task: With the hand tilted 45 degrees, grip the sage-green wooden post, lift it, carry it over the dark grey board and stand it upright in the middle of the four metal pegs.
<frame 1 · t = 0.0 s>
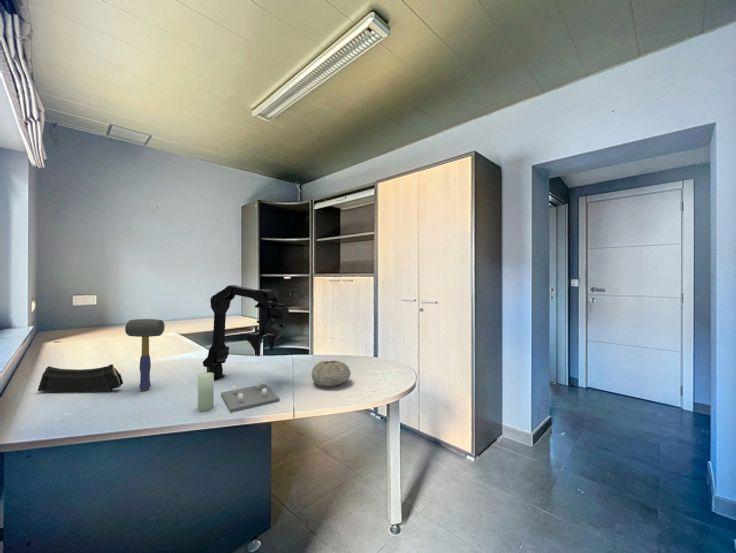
hand: (265, 353, 137), 15 cm above the table, tool pointing down, fingers open, 9 cm apart
rubber mallet: (145, 390, 130), on the table
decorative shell: (330, 383, 142), on the table
magazine: (81, 392, 127), on the table
post: (205, 408, 115), on the table
peg board: (249, 398, 124), on the table
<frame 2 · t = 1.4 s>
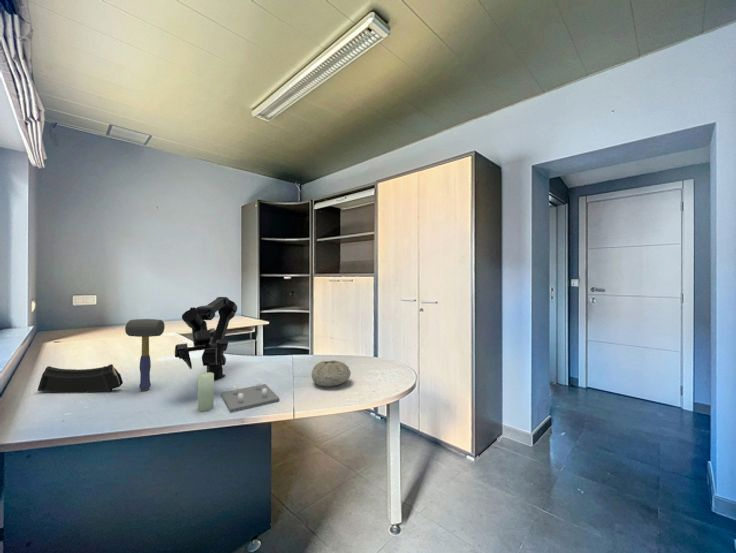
hand: (204, 366, 121), 13 cm above the table, tool tilted 45°, fingers open, 9 cm apart
nothing on the table moved.
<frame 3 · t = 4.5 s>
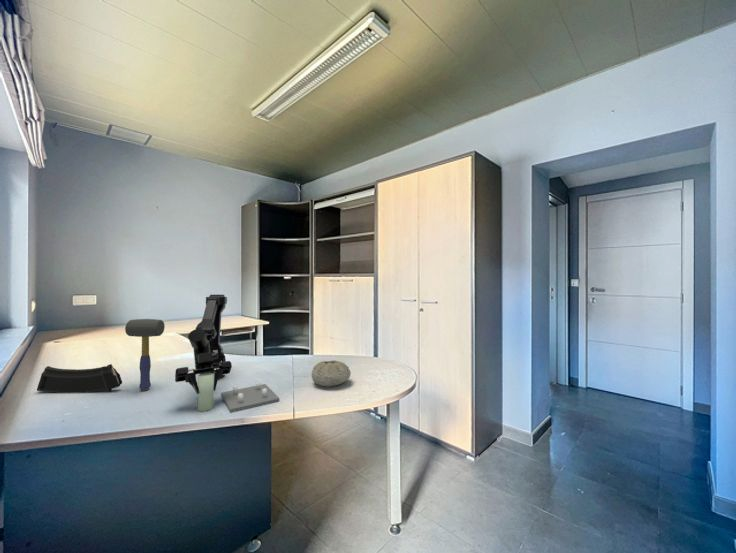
hand: (206, 391, 113), 7 cm above the table, tool tilted 45°, fingers closed on post, 5 cm apart
post: (205, 408, 115), on the table, touching gripper
everything else where it was.
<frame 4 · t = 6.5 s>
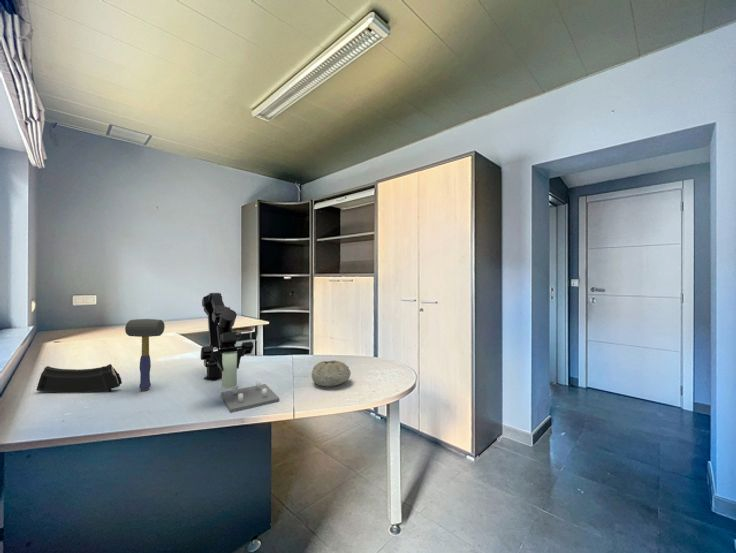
hand: (230, 369, 118), 13 cm above the table, tool tilted 45°, fingers closed on post, 5 cm apart
post: (229, 385, 119), point 7 cm above the table, touching gripper
everything else where it was.
when the fingers open (9 cm above the table, at t = 8.5 s): post drops 1 cm, resting on peg board.
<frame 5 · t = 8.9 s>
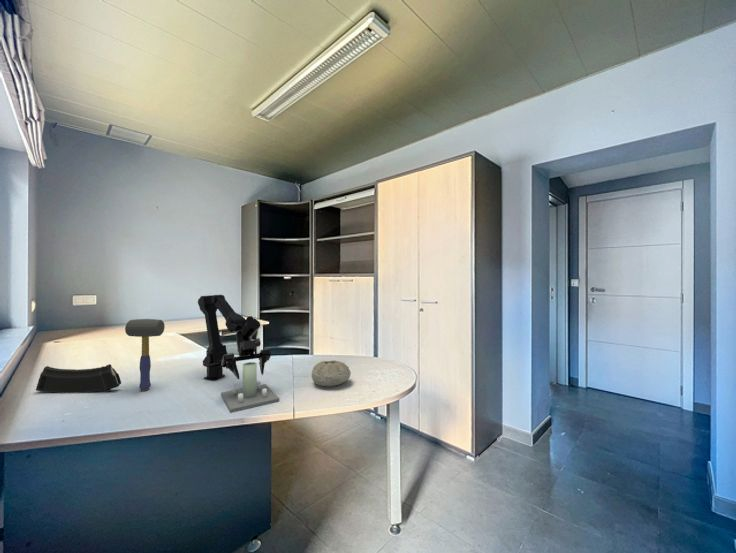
hand: (250, 376, 123), 9 cm above the table, tool tilted 45°, fingers open, 9 cm apart
post: (249, 395, 124), point 1 cm above the table, touching peg board
everything else where it was.
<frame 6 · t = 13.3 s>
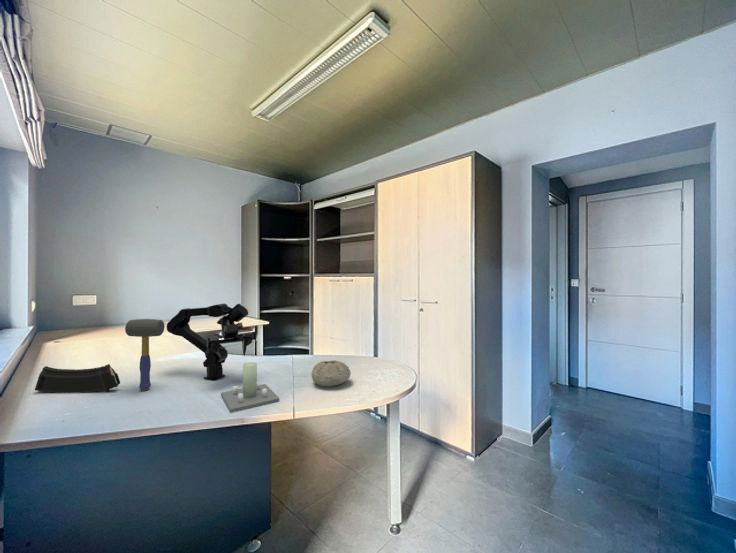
hand: (233, 356, 134), 14 cm above the table, tool tilted 45°, fingers open, 9 cm apart
at the end: post 0.0 cm off-centre on the peg board, point 1.2 cm above the peg board's base; post tilted 0°; the gripper is holding nothing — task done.
